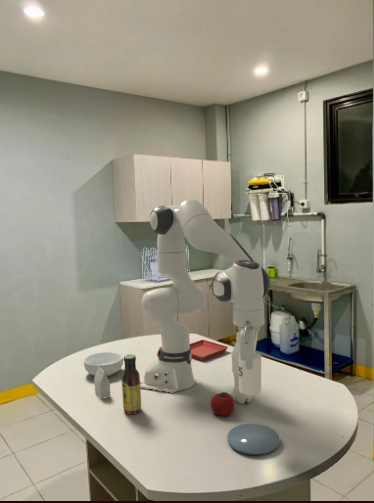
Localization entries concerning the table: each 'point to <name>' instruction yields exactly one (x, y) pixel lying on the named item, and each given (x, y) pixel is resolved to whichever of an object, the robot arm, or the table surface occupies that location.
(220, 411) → the tomato
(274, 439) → the candle dish
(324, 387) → the table surface
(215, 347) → the plant saucer
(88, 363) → the cereal bowl
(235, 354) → the water bottle
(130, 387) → the sauce bottle
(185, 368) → the robot arm
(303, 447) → the table surface
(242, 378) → the candle
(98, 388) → the small milk carton
